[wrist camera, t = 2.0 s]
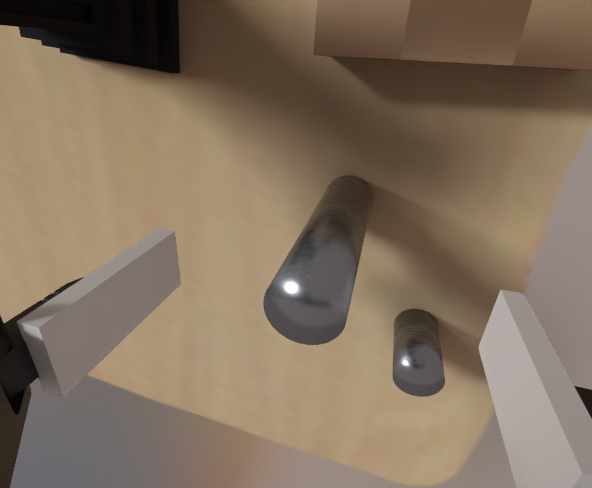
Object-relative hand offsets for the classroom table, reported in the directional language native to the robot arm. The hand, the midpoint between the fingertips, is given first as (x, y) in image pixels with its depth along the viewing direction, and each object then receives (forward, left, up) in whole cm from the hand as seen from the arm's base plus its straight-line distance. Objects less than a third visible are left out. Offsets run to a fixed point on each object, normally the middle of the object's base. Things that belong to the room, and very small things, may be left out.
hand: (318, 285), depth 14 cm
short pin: (+9, +6, -10) cm, 14 cm away
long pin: (0, 0, -10) cm, 10 cm away
